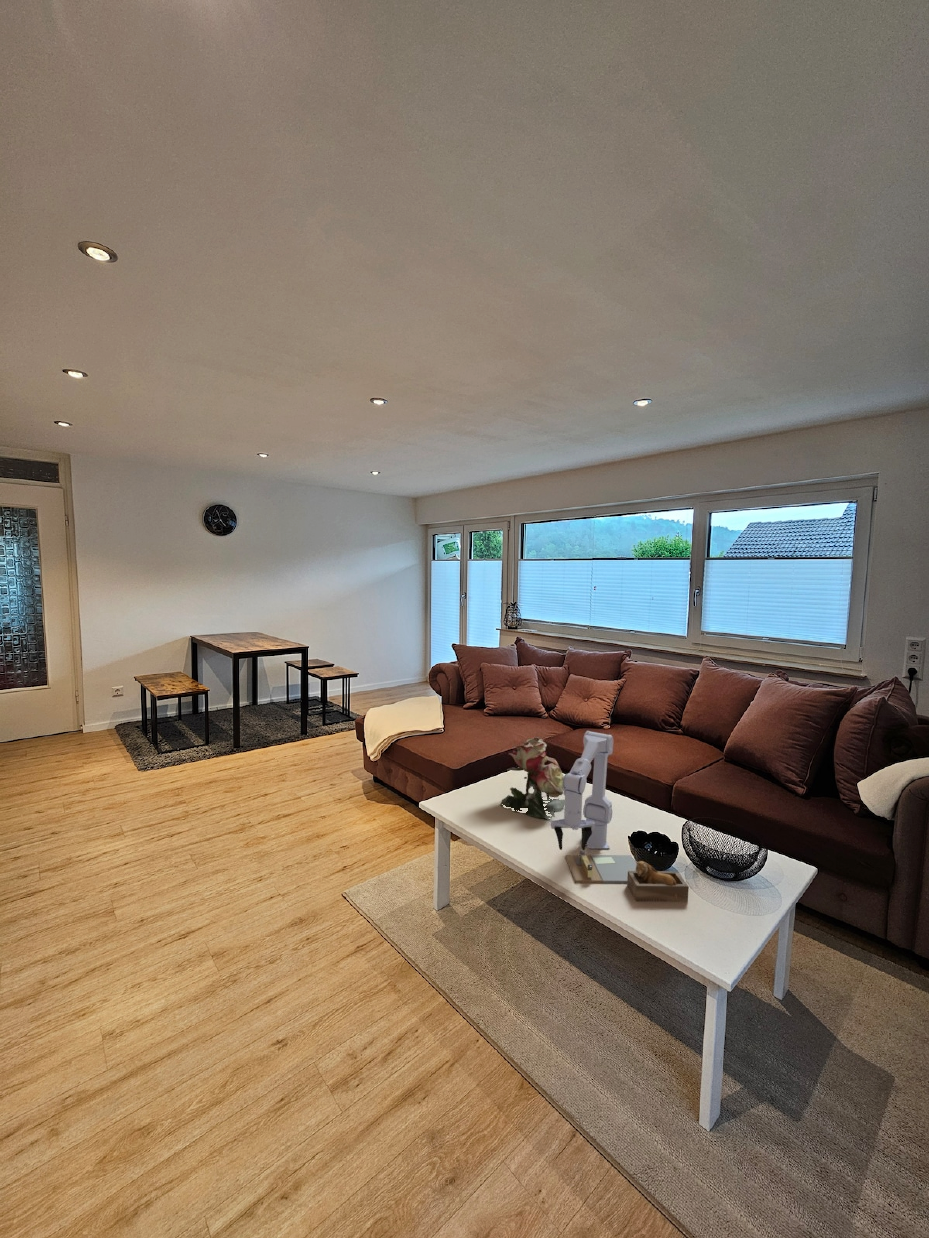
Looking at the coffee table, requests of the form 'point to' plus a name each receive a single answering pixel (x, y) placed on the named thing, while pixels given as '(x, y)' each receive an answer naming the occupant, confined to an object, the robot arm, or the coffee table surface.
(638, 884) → the display tray
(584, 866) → the latch bar
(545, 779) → the rose bouquet
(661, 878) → the lion figurine
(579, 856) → the door board
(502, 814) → the coffee table surface
